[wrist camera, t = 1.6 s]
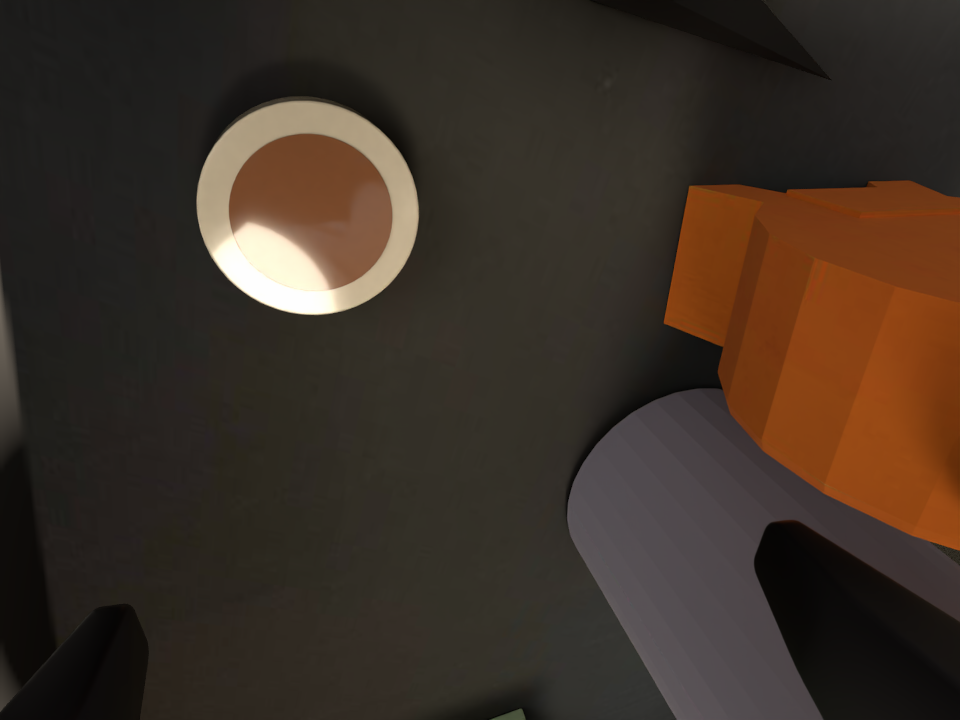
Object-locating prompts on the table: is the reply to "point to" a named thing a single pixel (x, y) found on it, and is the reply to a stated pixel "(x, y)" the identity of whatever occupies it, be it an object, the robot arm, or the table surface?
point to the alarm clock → (836, 337)
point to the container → (717, 554)
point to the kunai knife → (727, 26)
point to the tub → (512, 716)
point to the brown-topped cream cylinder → (307, 206)
